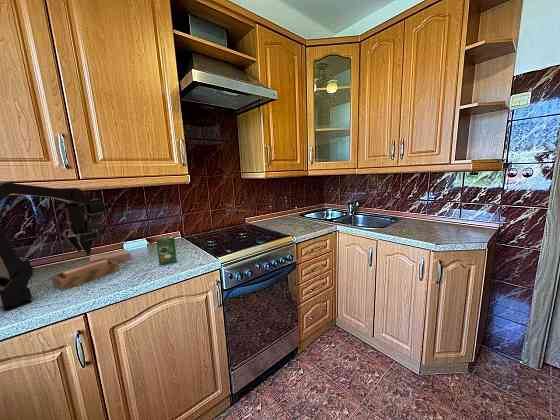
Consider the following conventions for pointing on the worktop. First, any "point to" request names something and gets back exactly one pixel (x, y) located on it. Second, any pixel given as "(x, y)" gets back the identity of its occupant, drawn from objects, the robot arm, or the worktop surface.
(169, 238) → the coffee box
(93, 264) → the clay strip
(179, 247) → the worktop surface
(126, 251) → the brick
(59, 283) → the wooden open tray
